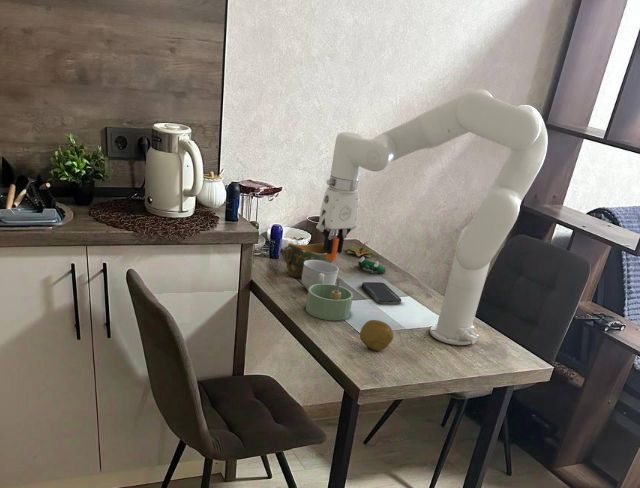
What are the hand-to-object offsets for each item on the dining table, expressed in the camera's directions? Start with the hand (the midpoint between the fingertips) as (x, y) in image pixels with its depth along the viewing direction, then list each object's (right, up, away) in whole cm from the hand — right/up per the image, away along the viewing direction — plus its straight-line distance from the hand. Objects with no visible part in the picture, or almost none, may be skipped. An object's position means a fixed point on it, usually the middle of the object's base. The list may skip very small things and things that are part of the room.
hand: (332, 251), depth 202 cm
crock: (-1, -15, +7) cm, 17 cm away
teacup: (-3, -7, +20) cm, 21 cm away
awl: (+1, -16, +5) cm, 17 cm away
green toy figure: (+16, +6, +42) cm, 45 cm away
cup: (-6, +2, +33) cm, 33 cm away
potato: (+10, -29, -11) cm, 33 cm away
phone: (+17, -7, +24) cm, 30 cm away
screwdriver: (0, -2, +1) cm, 2 cm away
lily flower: (+14, +16, +57) cm, 61 cm away
